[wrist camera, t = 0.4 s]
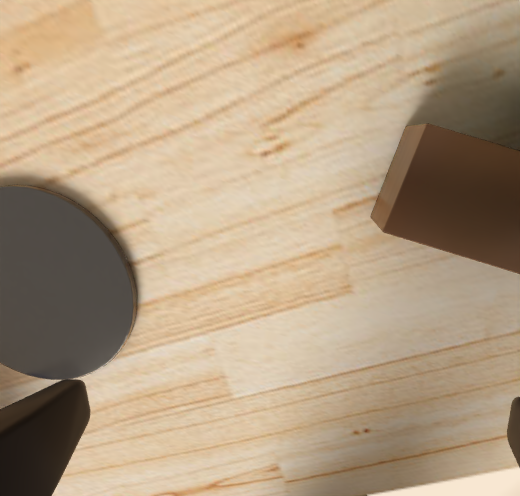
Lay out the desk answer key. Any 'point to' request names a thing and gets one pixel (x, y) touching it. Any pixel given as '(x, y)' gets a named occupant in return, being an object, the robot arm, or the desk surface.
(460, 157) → the prop block
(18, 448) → the robot arm
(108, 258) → the coaster
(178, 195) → the desk surface
